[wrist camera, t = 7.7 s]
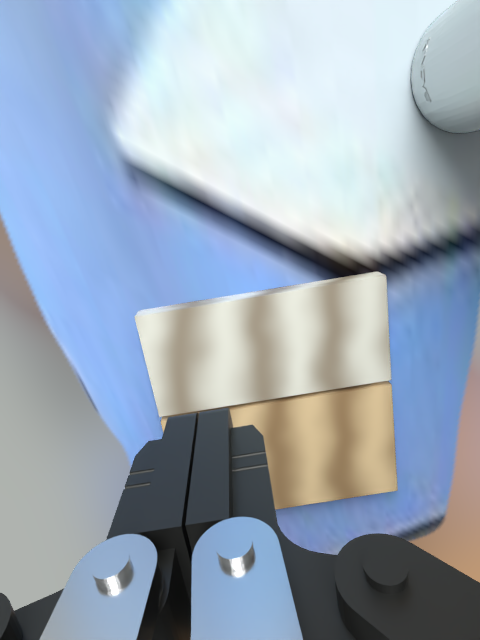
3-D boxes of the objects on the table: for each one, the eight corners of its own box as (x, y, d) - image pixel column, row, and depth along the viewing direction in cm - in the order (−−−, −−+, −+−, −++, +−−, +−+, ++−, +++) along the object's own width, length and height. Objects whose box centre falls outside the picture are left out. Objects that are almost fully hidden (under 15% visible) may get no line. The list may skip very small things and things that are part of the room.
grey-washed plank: (377, 271, 36) (386, 275, 34) (383, 371, 39) (391, 380, 37) (139, 310, 37) (134, 316, 35) (162, 406, 40) (159, 416, 38)
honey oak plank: (383, 375, 40) (391, 384, 38) (389, 477, 43) (397, 490, 41) (163, 410, 40) (160, 421, 38) (187, 509, 43) (185, 523, 41)
